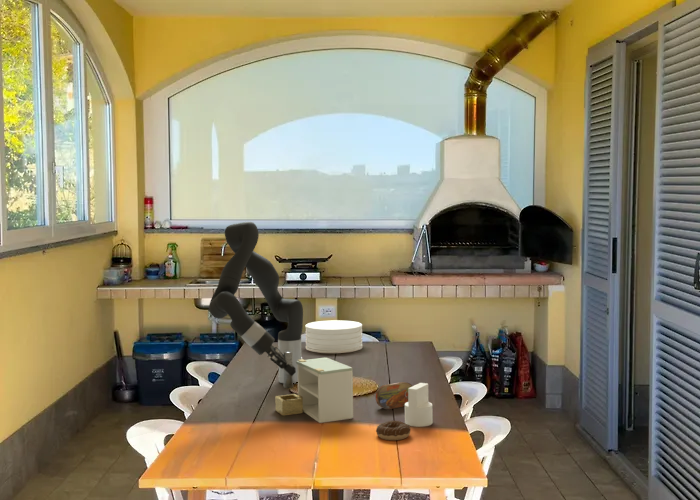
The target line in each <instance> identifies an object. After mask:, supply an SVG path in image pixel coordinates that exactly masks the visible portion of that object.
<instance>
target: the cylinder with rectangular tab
mask: <svg viewBox="0 0 700 500" xmlns="http://www.w3.org/2000/svg"><path fill="white" fill-rule="evenodd" d="M433 421H434V420H433V403H432V402H430V401H429V383H427V382H426V383H425V382H418V383H417V384H414V385H412V387H410V388H408V402H406V403H405V407H404V423H406V424H407V425H408V426H409V427H410V426H411V427H415V428H416V427H417V428H418V427H420V428H421V427H428V426H429V427H430V426H431V425H432V424H433V423H434V422H433Z"/></svg>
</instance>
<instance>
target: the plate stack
mask: <svg viewBox="0 0 700 500" xmlns="http://www.w3.org/2000/svg"><path fill="white" fill-rule="evenodd" d="M362 333H363V324H362V323H361V322H360V321H353V320H341V319H340V320H339V319H333V320H331V319H329V320H318V321H312V322H311V321H310V322H308V323H307V324H305V333H304V334H305V349H306V350H307V351H310V352H313V353H319V354H320V353H321V354H341V353H352V352H357V351H359V350H362V349H363V334H362Z"/></svg>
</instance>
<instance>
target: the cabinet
mask: <svg viewBox="0 0 700 500" xmlns="http://www.w3.org/2000/svg"><path fill="white" fill-rule="evenodd" d="M296 364H297V371H298V383H297V395H300V396H302V397H303V411H302V413H305V414H306V415H308V416H309V417H311V418H312V419H314V420H315V421H316V422H318V423H319V424H322V423H329V422H335V421H336V422H337V421H343V420H349V419H350V420H351V419H354V393H353V392H354V390H353V389H354V388H353V387H354V386H353V385H354V383H353V381H354V380H353V378H354V377H353V370H354V368H353V367H351V366H349V365H347V364H344V363H341V362H339V361H336V360H334V359H331V358H329V357H327V356H326V357H320V358H311V359H304V358H303V359H300V360H298V361H296Z"/></svg>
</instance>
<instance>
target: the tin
mask: <svg viewBox="0 0 700 500" xmlns="http://www.w3.org/2000/svg"><path fill="white" fill-rule="evenodd" d="M412 386H413V384H411V383H410V382H404V381H400V382H395V383H394V382H393V383H388V384H383V385H380V387H378V388H377V390H376V391H375V403H376V404H377V405H378V406H379V407H380V408H382V409H384V410H391V409H392V410H393V409H397V408H403V407H404V408H405V403H406V402H408V388H410V387H412Z"/></svg>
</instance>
